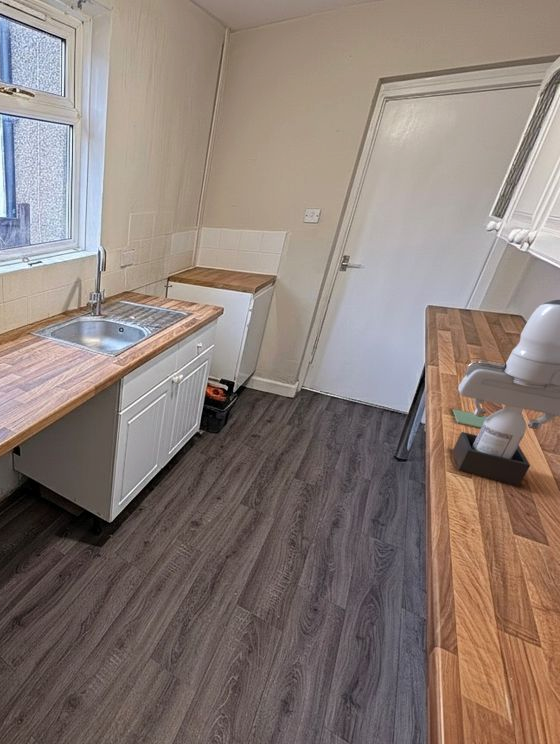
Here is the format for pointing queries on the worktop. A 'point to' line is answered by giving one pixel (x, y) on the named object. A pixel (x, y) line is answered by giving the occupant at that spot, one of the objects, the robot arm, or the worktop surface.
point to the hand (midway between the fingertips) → (504, 421)
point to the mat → (469, 418)
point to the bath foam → (501, 432)
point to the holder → (489, 462)
